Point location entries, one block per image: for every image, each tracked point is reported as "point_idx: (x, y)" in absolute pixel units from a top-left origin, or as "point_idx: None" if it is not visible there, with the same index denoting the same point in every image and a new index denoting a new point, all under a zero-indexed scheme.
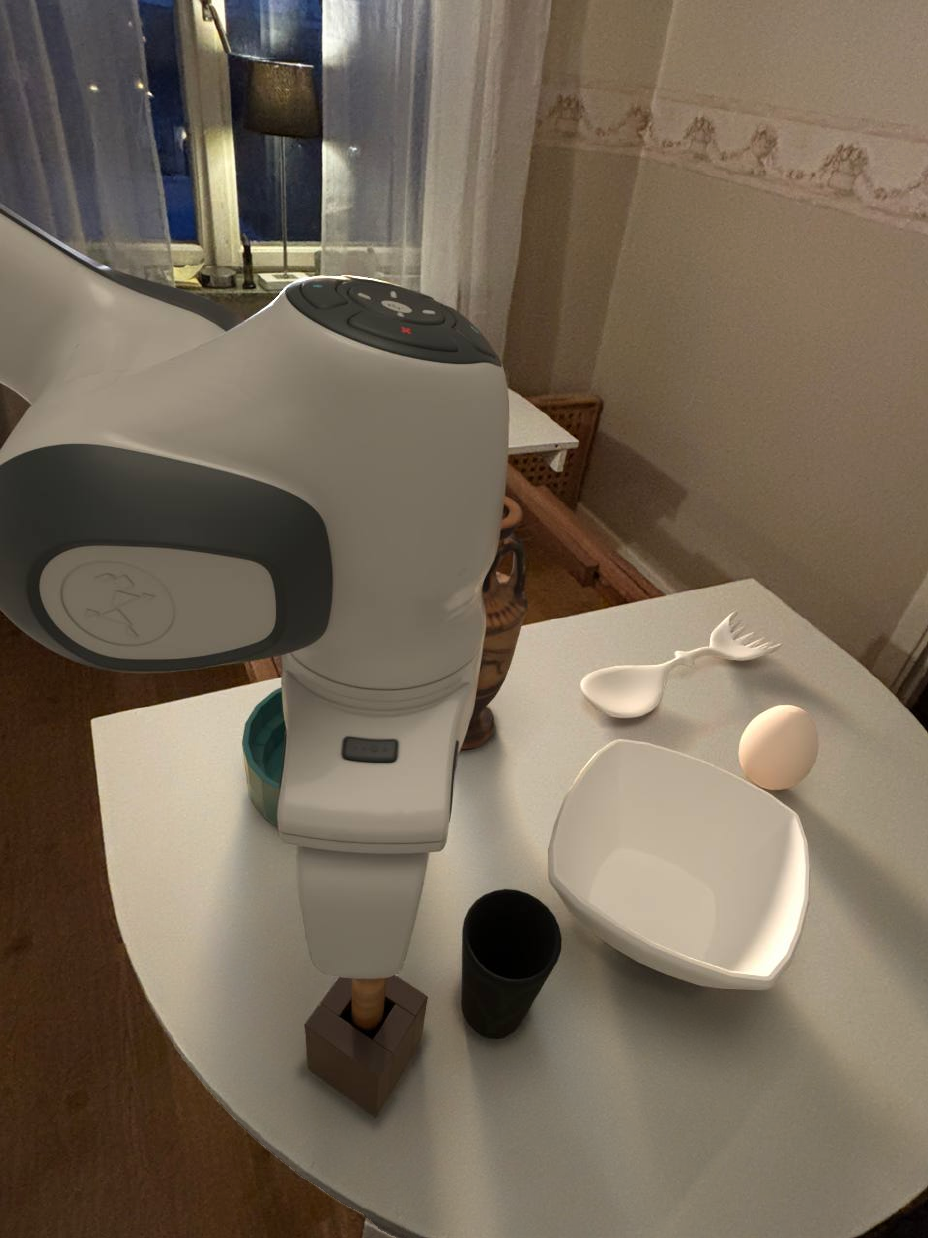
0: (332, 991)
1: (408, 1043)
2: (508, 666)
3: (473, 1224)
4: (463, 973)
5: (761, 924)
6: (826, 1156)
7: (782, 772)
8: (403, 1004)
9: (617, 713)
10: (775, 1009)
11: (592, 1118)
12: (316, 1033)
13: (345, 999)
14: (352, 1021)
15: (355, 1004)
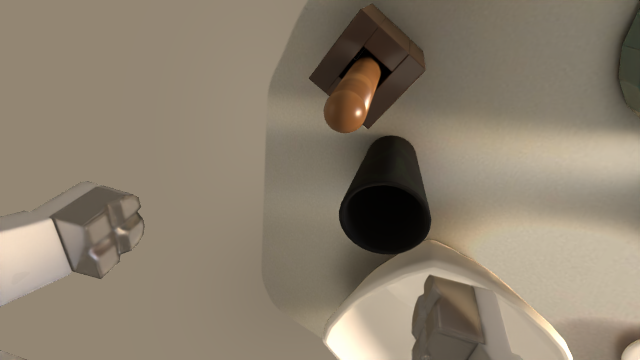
0: (389, 39)
1: None
2: None
3: (268, 114)
4: (386, 159)
5: (378, 342)
6: (287, 284)
7: None
8: None
9: (636, 346)
10: None
11: (313, 194)
12: (351, 22)
13: (378, 53)
14: (361, 57)
15: (350, 69)
